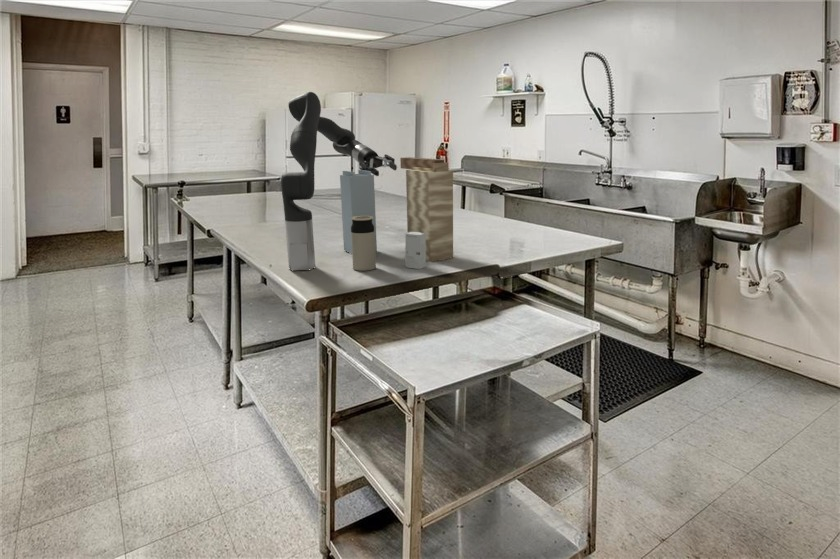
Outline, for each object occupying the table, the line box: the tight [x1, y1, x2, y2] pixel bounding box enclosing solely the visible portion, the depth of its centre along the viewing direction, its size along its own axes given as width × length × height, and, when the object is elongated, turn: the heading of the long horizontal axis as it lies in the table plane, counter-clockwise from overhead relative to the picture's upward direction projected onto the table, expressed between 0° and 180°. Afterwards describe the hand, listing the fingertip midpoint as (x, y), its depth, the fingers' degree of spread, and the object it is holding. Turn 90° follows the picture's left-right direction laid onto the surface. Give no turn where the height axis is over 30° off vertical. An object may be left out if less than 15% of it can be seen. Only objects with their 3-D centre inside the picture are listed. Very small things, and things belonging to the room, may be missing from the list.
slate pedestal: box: [339, 169, 378, 255], centre depth 217 cm, size 9×10×32 cm
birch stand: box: [405, 161, 454, 262], centre depth 207 cm, size 16×10×35 cm, turn 33°
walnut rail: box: [399, 156, 445, 170], centre depth 207 cm, size 24×4×4 cm, turn 33°
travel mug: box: [351, 216, 377, 272], centre depth 192 cm, size 8×8×18 cm
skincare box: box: [405, 232, 426, 270], centre depth 194 cm, size 6×4×12 cm
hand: (387, 171), depth 223 cm, fingers open, 8 cm apart
